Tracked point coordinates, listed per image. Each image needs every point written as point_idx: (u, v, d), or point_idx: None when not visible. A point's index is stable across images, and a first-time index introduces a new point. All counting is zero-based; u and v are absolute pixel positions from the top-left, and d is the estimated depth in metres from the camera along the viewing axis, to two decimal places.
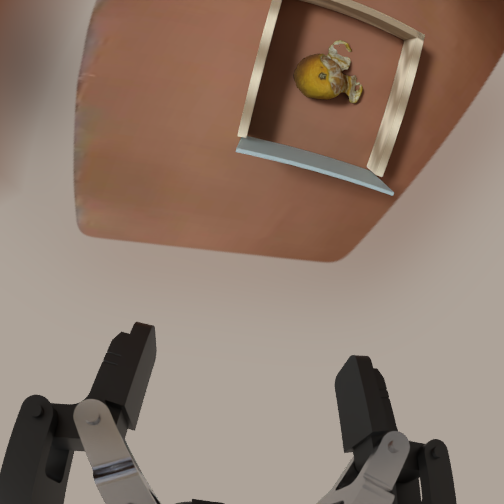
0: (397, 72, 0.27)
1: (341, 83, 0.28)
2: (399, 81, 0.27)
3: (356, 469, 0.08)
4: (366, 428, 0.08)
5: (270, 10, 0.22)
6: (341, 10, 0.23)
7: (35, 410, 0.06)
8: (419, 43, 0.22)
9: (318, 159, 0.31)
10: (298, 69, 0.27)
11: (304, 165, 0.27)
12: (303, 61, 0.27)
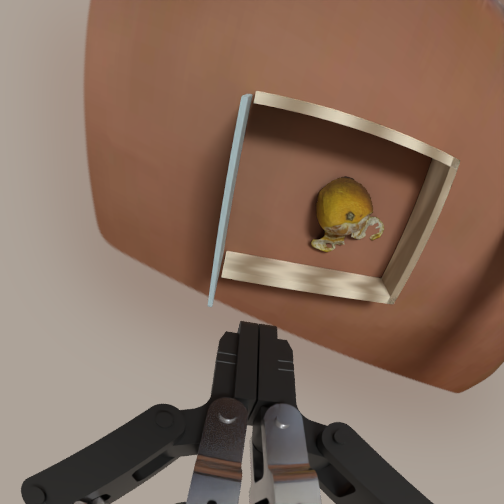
0: (345, 274, 0.32)
1: (338, 234, 0.28)
2: (337, 279, 0.31)
3: (261, 452, 0.08)
4: (256, 397, 0.09)
5: (426, 145, 0.21)
6: (415, 217, 0.27)
7: (164, 421, 0.07)
8: (384, 299, 0.30)
9: None
10: (356, 186, 0.25)
11: (227, 194, 0.19)
12: (365, 192, 0.26)
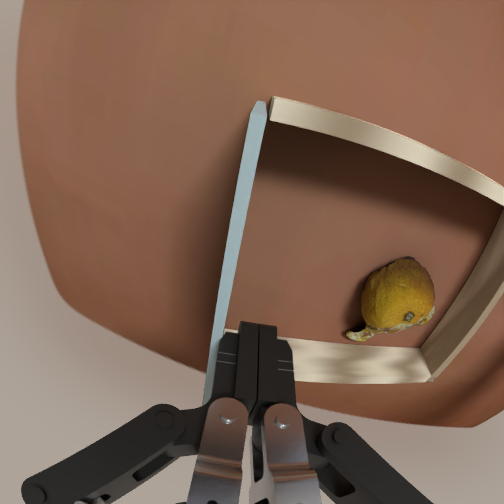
0: (380, 349, 0.23)
1: (386, 331, 0.19)
2: (371, 361, 0.22)
3: (260, 451, 0.08)
4: (256, 397, 0.09)
5: None
6: (476, 282, 0.18)
7: (165, 421, 0.07)
8: (423, 379, 0.21)
9: None
10: (421, 274, 0.17)
11: (222, 316, 0.10)
12: (430, 280, 0.17)
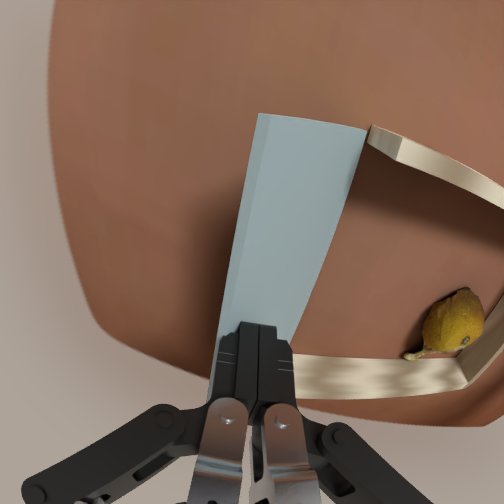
0: (425, 362, 0.22)
1: (442, 352, 0.19)
2: (419, 373, 0.21)
3: (260, 451, 0.08)
4: (256, 397, 0.09)
5: None
6: None
7: (164, 421, 0.07)
8: (461, 386, 0.20)
9: (283, 306, 0.15)
10: (477, 303, 0.16)
11: (226, 313, 0.10)
12: (482, 308, 0.17)
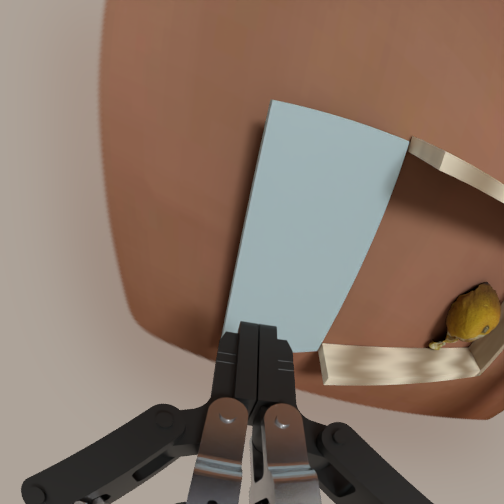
0: (441, 351, 0.23)
1: None
2: (438, 361, 0.22)
3: (261, 451, 0.08)
4: (256, 397, 0.09)
5: None
6: None
7: (165, 421, 0.07)
8: (474, 374, 0.21)
9: (310, 271, 0.17)
10: (496, 296, 0.18)
11: (243, 229, 0.15)
12: (498, 301, 0.18)
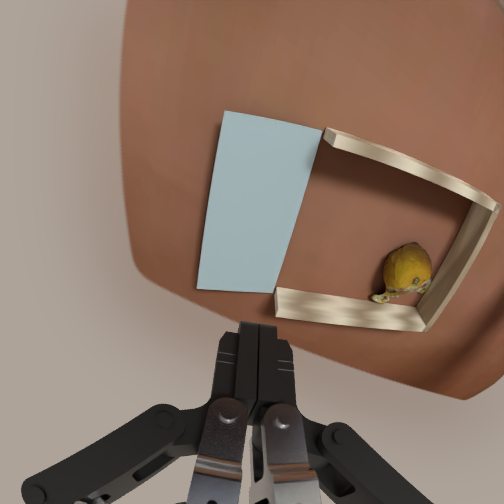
0: (386, 305, 0.32)
1: (400, 293, 0.28)
2: (381, 312, 0.31)
3: (260, 451, 0.08)
4: (256, 397, 0.09)
5: (477, 193, 0.20)
6: (454, 254, 0.27)
7: (165, 421, 0.07)
8: (420, 328, 0.30)
9: (257, 221, 0.26)
10: (423, 253, 0.26)
11: (210, 191, 0.23)
12: (429, 258, 0.26)
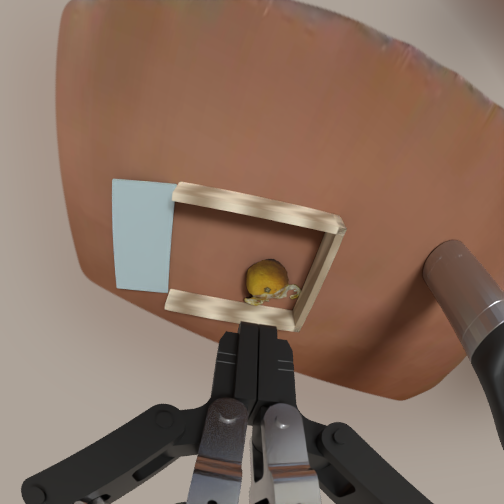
0: (260, 307, 0.43)
1: (261, 298, 0.40)
2: (252, 312, 0.42)
3: (261, 451, 0.08)
4: (256, 397, 0.09)
5: (310, 221, 0.32)
6: (313, 268, 0.39)
7: (164, 421, 0.07)
8: (290, 328, 0.42)
9: (144, 245, 0.37)
10: (274, 268, 0.38)
11: None
12: (281, 272, 0.38)
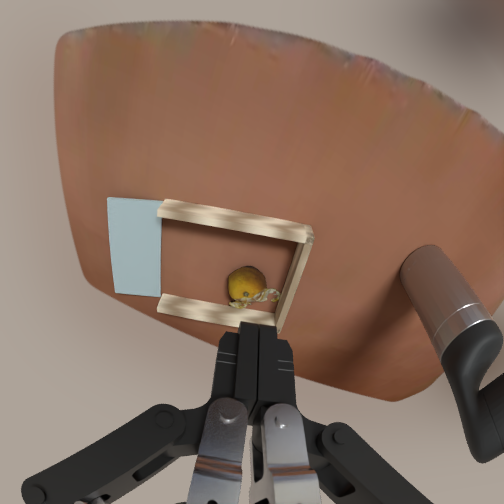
0: (244, 310, 0.47)
1: (242, 302, 0.44)
2: (235, 314, 0.46)
3: (261, 451, 0.08)
4: (256, 397, 0.09)
5: (279, 232, 0.36)
6: (289, 274, 0.42)
7: (164, 421, 0.07)
8: None
9: (138, 255, 0.41)
10: (251, 274, 0.42)
11: (109, 239, 0.39)
12: (258, 277, 0.42)
